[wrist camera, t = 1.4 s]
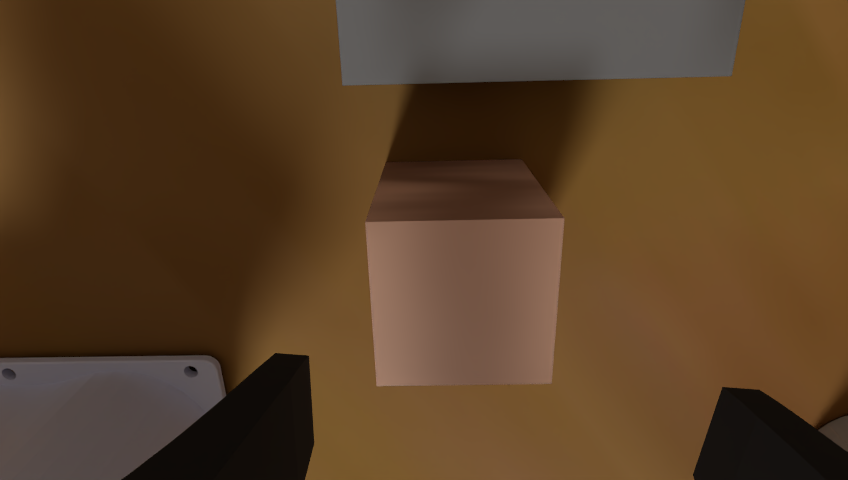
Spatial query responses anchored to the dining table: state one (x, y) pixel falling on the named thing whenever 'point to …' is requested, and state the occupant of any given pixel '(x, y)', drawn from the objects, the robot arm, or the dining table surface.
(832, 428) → the coffee cup
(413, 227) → the terracotta block
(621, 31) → the charcoal plinth
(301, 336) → the dining table surface
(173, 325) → the dining table surface
